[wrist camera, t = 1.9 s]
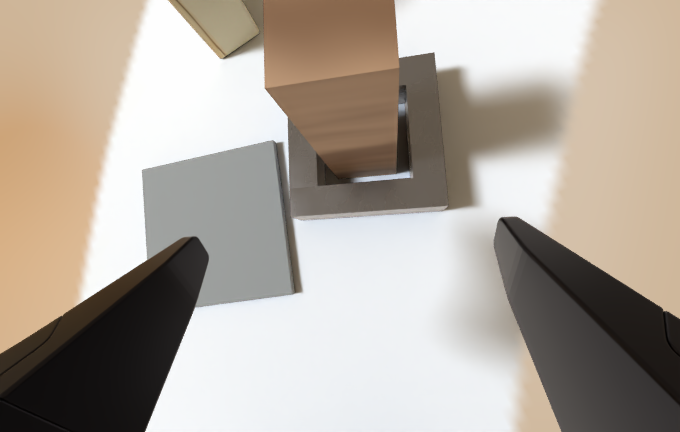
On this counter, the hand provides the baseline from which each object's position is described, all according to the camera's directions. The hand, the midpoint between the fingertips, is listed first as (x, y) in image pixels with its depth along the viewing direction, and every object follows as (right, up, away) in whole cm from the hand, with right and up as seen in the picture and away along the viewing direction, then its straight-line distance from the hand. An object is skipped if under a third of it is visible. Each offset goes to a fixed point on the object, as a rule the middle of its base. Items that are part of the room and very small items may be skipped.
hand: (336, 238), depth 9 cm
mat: (-10, 0, +15) cm, 18 cm away
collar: (+2, +6, +14) cm, 15 cm away
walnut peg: (+2, +6, +14) cm, 15 cm away
